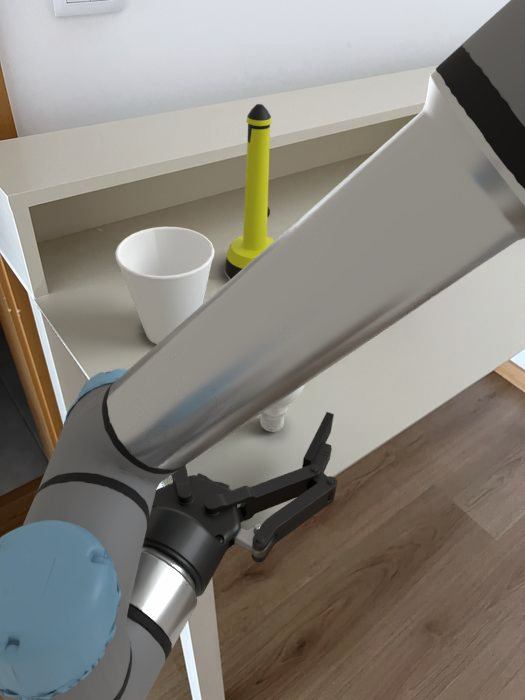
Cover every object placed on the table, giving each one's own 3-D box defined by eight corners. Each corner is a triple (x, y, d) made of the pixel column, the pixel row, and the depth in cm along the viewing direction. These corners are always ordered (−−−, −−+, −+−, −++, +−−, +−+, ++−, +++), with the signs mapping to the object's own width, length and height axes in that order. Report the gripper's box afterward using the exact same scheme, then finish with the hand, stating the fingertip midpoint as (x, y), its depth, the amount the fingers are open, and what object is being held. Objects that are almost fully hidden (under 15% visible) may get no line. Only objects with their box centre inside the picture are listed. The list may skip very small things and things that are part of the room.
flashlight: (254, 121, 69) (309, 107, 74) (210, 101, 74) (263, 89, 79) (249, 294, 85) (294, 274, 90) (213, 268, 91) (257, 250, 95)
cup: (137, 368, 73) (126, 285, 64) (118, 313, 81) (106, 234, 73) (227, 348, 76) (227, 267, 68) (200, 297, 84) (198, 220, 76)
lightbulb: (248, 403, 69) (251, 330, 62) (302, 410, 68) (311, 337, 61) (239, 444, 64) (241, 370, 57) (297, 452, 63) (306, 378, 56)
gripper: (41, 539, 52) (166, 389, 67) (302, 664, 45) (377, 465, 60) (22, 488, 47) (161, 338, 62) (312, 619, 40) (390, 414, 55)
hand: (267, 400), depth 61 cm, fingers open, 13 cm apart
